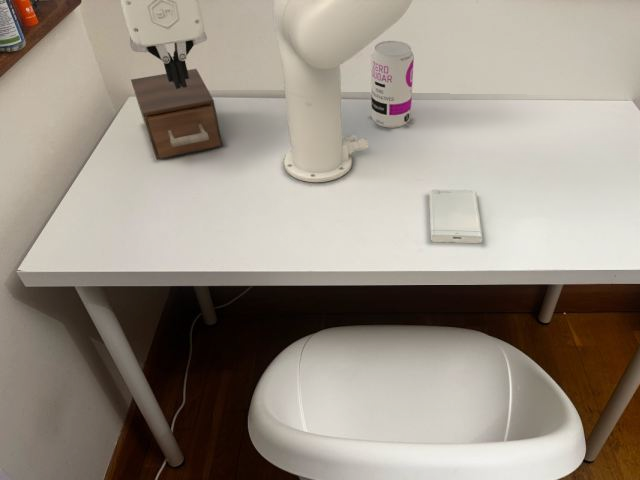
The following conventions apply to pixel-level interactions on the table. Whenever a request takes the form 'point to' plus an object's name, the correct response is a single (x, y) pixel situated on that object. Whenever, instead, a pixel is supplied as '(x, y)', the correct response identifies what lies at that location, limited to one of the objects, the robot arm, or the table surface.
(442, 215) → the hard drive
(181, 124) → the drawer
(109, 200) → the table surface
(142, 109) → the cabinet
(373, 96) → the white soda can
